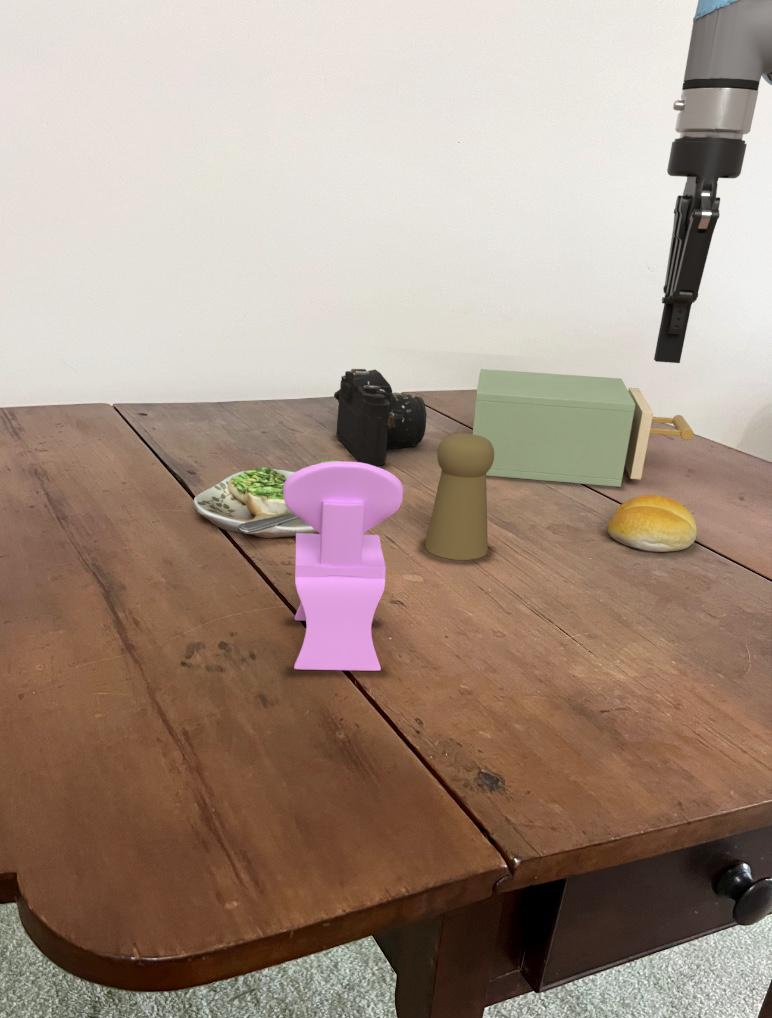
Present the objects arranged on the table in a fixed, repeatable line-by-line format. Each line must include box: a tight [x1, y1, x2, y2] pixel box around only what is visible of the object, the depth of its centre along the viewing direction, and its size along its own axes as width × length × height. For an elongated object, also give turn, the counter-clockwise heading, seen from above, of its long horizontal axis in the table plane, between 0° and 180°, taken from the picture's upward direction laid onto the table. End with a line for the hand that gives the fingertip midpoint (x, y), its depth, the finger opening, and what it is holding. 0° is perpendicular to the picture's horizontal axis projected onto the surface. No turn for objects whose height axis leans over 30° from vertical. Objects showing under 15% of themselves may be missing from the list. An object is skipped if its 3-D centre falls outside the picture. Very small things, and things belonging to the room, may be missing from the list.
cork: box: [424, 433, 494, 561], centre depth 86 cm, size 6×6×11 cm
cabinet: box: [471, 368, 635, 488], centre depth 114 cm, size 18×15×10 cm
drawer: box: [624, 387, 695, 480], centre depth 113 cm, size 22×14×8 cm, turn 79°
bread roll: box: [607, 494, 698, 553], centre depth 92 cm, size 8×9×4 cm
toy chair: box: [283, 461, 404, 672], centre depth 67 cm, size 8×9×15 cm
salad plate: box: [193, 459, 346, 539], centre depth 94 cm, size 19×18×5 cm
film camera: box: [333, 368, 428, 467], centre depth 118 cm, size 18×12×10 cm
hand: (666, 361), depth 108 cm, fingers closed
